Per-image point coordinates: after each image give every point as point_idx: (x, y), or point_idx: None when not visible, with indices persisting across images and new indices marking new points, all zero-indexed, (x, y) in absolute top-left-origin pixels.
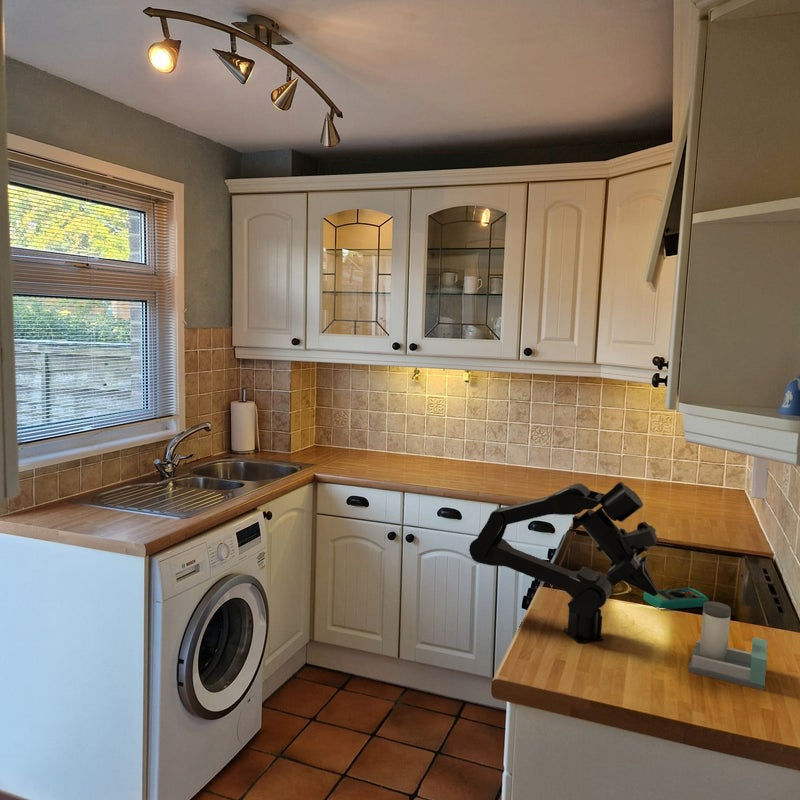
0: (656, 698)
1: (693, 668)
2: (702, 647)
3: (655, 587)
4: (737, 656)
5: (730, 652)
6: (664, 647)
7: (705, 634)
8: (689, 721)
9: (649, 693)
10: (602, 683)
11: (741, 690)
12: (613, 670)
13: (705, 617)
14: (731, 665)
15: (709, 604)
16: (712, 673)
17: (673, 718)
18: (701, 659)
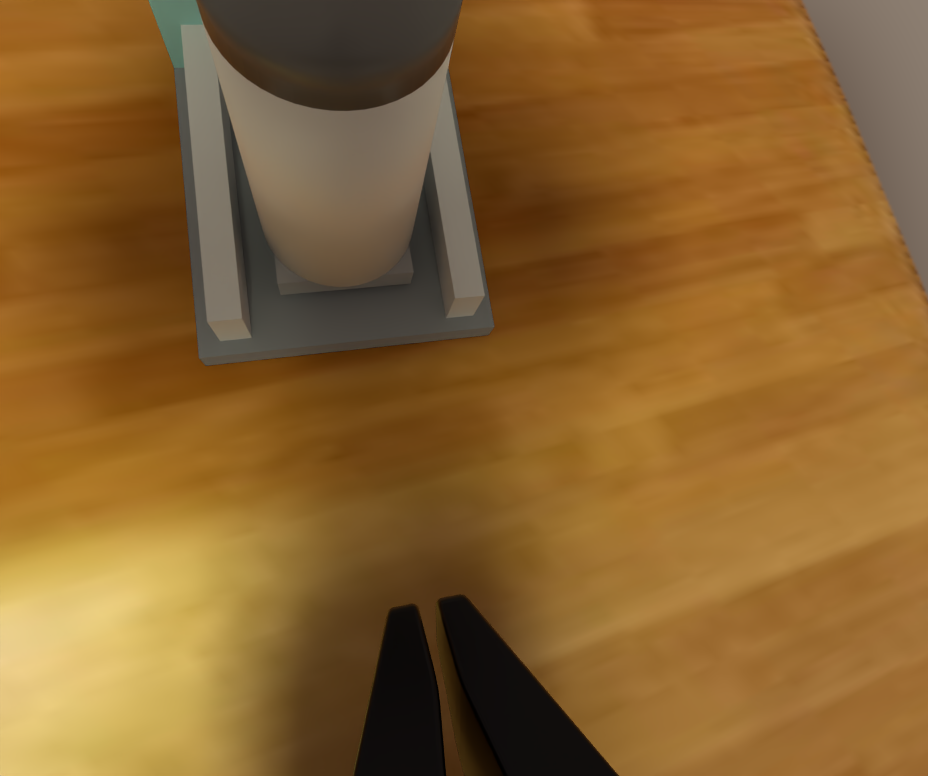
0: (839, 394)
1: (489, 304)
2: (395, 243)
3: (416, 666)
4: (225, 110)
5: (225, 136)
6: (252, 527)
7: (417, 180)
8: (896, 247)
9: (823, 431)
10: (905, 645)
11: (501, 107)
12: (751, 659)
13: (425, 105)
14: (447, 106)
15: (329, 2)
16: (472, 218)
17: (922, 300)
18: (476, 250)
